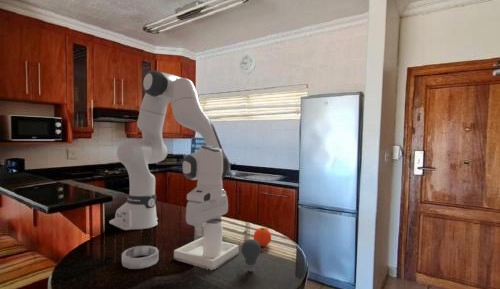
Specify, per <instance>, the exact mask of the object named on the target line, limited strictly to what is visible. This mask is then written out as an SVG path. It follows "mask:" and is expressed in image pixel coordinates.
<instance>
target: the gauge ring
mask: <svg viewBox="0 0 500 289" xmlns="http://www.w3.org/2000/svg"><path fill="white" fill-rule="evenodd" d="M159 253H160V250H159V249H158V248H157V247H156V246H153V245H152V246H151V245H137V246H133V247H128V248H127V249H125V250H124V251H123V252H122V253H121V265H122V267H124V268H127V269H129V270H130V269H131V270H139V269H145V268H149V267H152V266H154V265H157V263H158V261H159V259H160V258H159V257H160V254H159ZM141 256H143V257H141Z"/></svg>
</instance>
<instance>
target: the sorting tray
mask: <svg viewBox="0 0 500 289" xmlns="http://www.w3.org/2000/svg"><path fill="white" fill-rule="evenodd" d="M203 238H204V236H200V238H199V237H198V238H197V239H195V240H193V241H191V242H189V243H187V244H184V245H183V246H181V247H178V248H176V249H174V250H173V260H176V261H178V262H182V263H185V264H188V265H193V266H196V267H198V266H199V267H198V268H201V269H205V268H206V270H208V269H210V270H209V271H212V270H214V269H215V270H216V268H217V269H218V268H219V267H221V266H222V265H224V264H225V263H227V262H228V261H230V260H231V259H232V258H233V259H234V257H235V256H237V255H238V254H239V253H240V252H239V251H240V245H239V244H236V243H231V242H226V241H223V240H222V254H221V255H219V256H217V257H216V258H214V259H209V258H206V257H204V255H203ZM215 270H214V271H215Z"/></svg>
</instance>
